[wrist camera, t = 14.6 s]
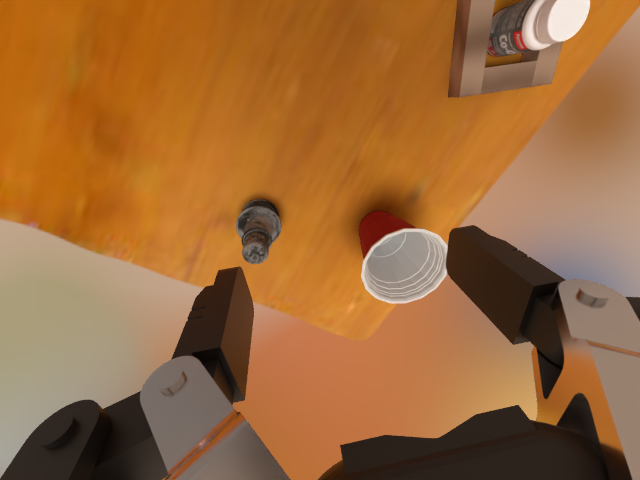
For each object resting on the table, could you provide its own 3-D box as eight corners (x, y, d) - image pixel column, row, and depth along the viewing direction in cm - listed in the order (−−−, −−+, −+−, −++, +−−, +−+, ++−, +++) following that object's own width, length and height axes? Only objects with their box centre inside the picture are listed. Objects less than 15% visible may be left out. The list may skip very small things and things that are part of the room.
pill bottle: (475, 47, 32) (533, 34, 25) (498, -1, 30) (569, -31, 23) (504, 63, 34) (567, 55, 26) (529, 18, 32) (604, -5, 24)
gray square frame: (460, -30, 29) (476, -40, 26) (564, -42, 29) (587, -53, 27) (447, 97, 34) (459, 97, 32) (534, 84, 35) (551, 83, 33)
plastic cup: (352, 188, 39) (380, 223, 28) (418, 200, 41) (466, 237, 31) (333, 252, 43) (352, 302, 33) (394, 259, 46) (428, 308, 35)
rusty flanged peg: (285, 229, 40) (288, 276, 30) (247, 238, 40) (236, 289, 30) (274, 192, 37) (273, 231, 27) (233, 202, 37) (216, 245, 27)
